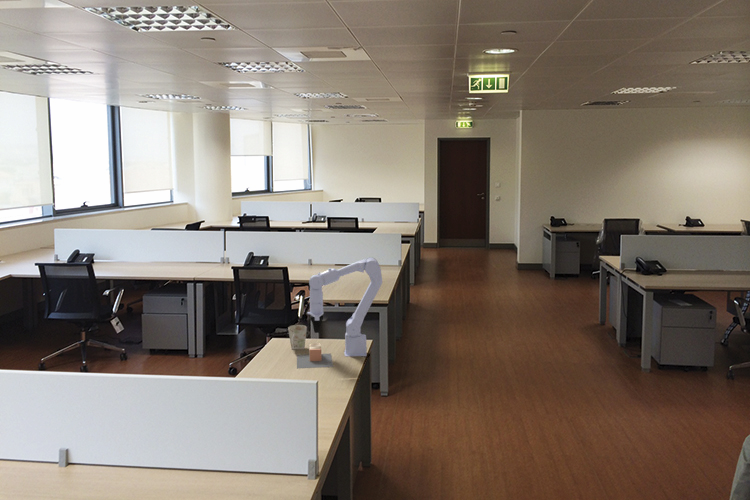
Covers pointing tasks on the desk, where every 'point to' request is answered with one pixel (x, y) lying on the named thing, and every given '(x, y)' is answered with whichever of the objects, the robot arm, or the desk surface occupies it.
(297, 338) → the mug
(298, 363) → the mat
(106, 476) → the desk surface
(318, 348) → the block
